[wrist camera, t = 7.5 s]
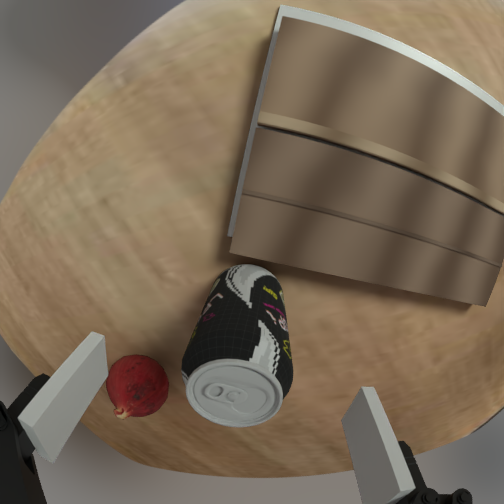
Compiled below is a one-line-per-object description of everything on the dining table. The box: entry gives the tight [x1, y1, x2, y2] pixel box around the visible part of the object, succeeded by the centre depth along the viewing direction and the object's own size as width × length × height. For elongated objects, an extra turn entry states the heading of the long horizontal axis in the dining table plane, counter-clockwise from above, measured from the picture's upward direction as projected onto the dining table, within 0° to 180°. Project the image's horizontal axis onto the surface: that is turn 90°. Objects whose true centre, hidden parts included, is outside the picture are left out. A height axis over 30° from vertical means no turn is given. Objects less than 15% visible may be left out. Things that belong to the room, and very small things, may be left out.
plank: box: [257, 16, 504, 215], centre depth 17 cm, size 26×9×2 cm, turn 78°
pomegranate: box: [106, 355, 169, 420], centre depth 22 cm, size 6×6×8 cm
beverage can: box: [181, 264, 293, 427], centre depth 18 cm, size 6×6×12 cm
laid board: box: [229, 127, 504, 307], centre depth 20 cm, size 26×9×2 cm, turn 78°
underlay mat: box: [227, 5, 504, 237], centre depth 19 cm, size 27×20×1 cm
